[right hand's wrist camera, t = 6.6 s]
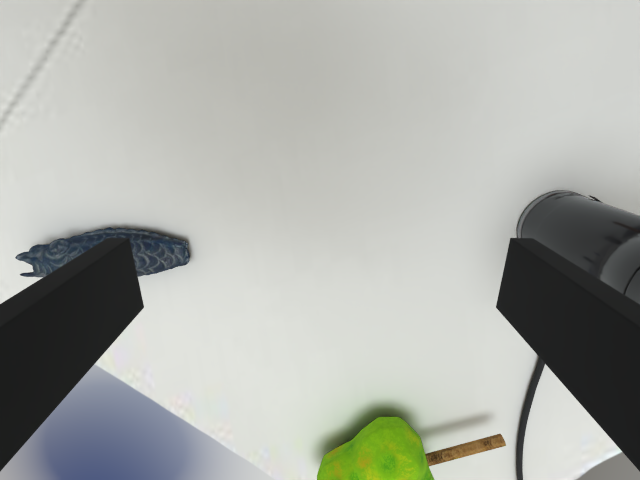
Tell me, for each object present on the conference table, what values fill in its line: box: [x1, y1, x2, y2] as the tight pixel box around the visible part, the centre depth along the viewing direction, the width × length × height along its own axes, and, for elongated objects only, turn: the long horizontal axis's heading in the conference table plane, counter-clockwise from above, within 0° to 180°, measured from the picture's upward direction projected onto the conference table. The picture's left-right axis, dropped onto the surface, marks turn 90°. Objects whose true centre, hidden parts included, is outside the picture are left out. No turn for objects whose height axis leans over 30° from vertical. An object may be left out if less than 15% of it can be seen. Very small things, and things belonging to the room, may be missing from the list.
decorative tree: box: [317, 417, 506, 480], centre depth 55 cm, size 18×10×30 cm
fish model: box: [15, 228, 190, 277], centre depth 45 cm, size 7×21×5 cm, turn 92°
